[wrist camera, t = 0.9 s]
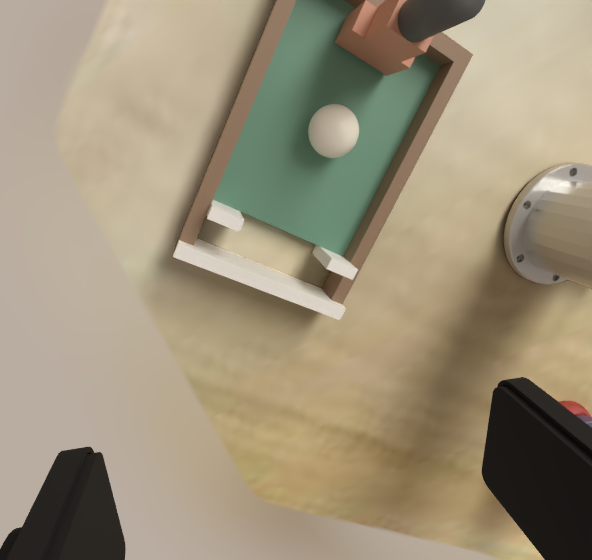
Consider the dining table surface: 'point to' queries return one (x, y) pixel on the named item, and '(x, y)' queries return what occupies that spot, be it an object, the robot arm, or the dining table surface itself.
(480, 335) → the dining table surface
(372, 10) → the kicker
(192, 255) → the pitch
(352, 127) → the ball
